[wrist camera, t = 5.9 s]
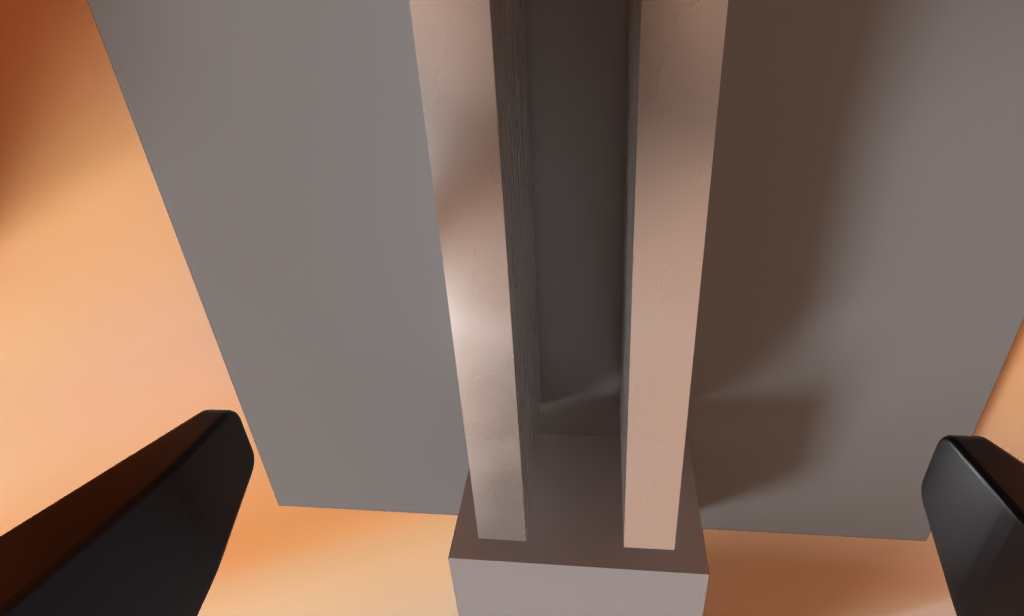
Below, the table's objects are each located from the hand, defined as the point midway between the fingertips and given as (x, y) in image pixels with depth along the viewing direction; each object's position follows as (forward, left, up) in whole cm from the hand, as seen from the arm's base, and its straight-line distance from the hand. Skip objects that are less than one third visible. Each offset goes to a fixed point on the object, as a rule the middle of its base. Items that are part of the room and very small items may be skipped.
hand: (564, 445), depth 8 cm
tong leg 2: (+2, -1, -6) cm, 7 cm away
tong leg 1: (+2, +1, -6) cm, 7 cm away
